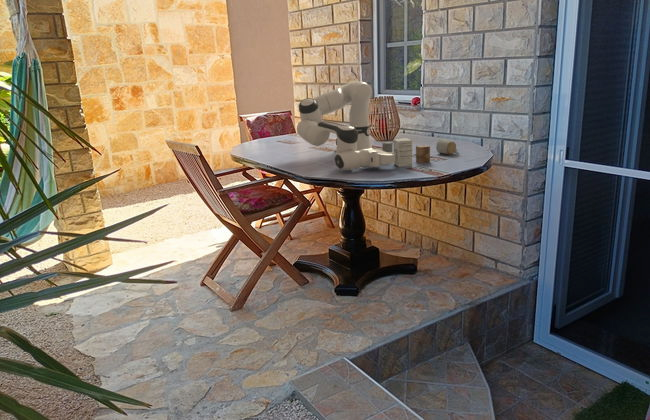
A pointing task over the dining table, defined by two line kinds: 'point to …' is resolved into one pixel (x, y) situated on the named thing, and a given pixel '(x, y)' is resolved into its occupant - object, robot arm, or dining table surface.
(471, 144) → the dining table surface
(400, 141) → the supplement box
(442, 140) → the ceramic mug
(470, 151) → the dining table surface
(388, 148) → the grey rounded cylinder
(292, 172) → the dining table surface
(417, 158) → the walnut block
